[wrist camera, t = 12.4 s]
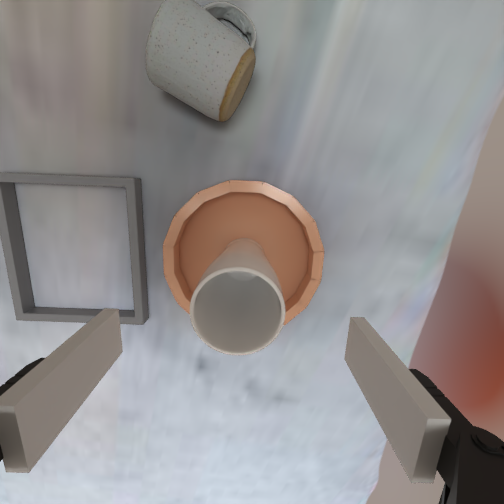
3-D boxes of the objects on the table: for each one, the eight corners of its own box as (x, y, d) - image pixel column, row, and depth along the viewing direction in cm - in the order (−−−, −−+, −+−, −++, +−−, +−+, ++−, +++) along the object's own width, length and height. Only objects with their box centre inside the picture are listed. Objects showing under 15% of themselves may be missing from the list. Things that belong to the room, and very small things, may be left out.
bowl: (168, 178, 31) (160, 177, 28) (324, 184, 31) (331, 184, 28) (173, 320, 35) (166, 332, 32) (309, 325, 35) (314, 337, 32)
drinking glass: (217, 229, 31) (186, 264, 17) (272, 231, 31) (290, 268, 17) (216, 282, 33) (188, 356, 18) (269, 284, 33) (283, 359, 18)
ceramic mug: (227, 134, 30) (220, 114, 22) (161, 95, 29) (130, 60, 21) (274, 40, 28) (283, -17, 20) (205, -5, 27) (188, -83, 19)
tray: (3, 172, 30) (-12, 172, 29) (140, 178, 31) (134, 178, 29) (28, 313, 35) (16, 320, 33) (148, 317, 35) (143, 324, 33)
